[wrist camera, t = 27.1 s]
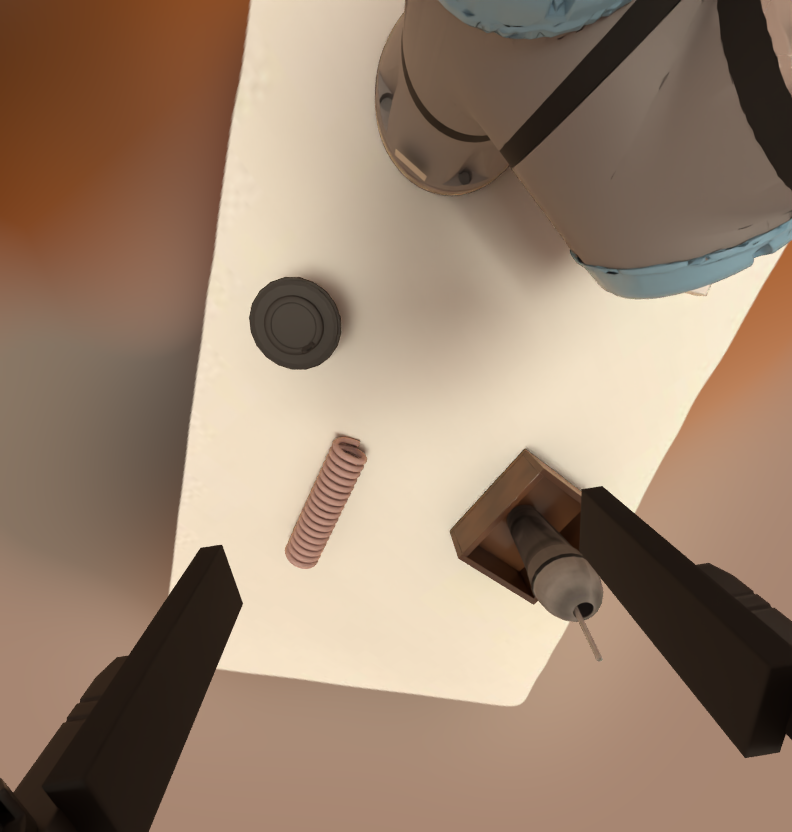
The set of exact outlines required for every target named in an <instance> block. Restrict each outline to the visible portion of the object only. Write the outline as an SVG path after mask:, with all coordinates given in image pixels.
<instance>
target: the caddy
mask: <svg viewBox="0 0 792 832" xmlns="http://www.w3.org/2000/svg"><path fill="white" fill-rule="evenodd" d="M581 493H582V491H580V490H579V489H578V488H576V487H575V486H574V485H572V484H571V483H570V482H568V481H567V480H566V479H564V478H563V477H562V476H560V475H559V474H558V473H556V472H555V471H554V470H552V469H551V468H550V467H548V466H547V465H546V464H545V463H543V462H542V461H541V460H539V459H538V458H537V457H535V456H534V455H533V454H531V453H530V452H529V451H527V450H526V449H524V450H523V452H522V453H521V454H520V455H519V456H518V457H517V458H516V459H515V460H514V461H513V462H512V464H511V465H510V466H509V467H508V468H507V469H506V470H505V471H504V472H503V473H502V474H501V476H500V477H499V478H498V479H497V480H496V481H495V482H494V483H493V484H492V485H491V487H490V488H489V489H488V490H487V491H486V492H485V493H484V494H483V495H482V496H481V497H480V499H479V500H478V501H477V502H476V503H475V504H474V505H473V506H472V507H471V508H470V509H469V511H468V512H467V513H466V514H465V515H464V516H463V517H462V518H461V519H460V520H459V521H458V523H457V524H456V525H455V526H454V527H453V528H452V529H451V530H450V534H451V537H452V540H453V543H454V546H455V549H456V552H457V556H458V558H459V559H460V560H462V561H463V562H465V563H467V564H468V565H470V566H472V567H473V568H475V569H476V570H478V571H480V572H481V573H483V574H485V575H486V576H488V577H489V578H491V579H493V580H494V581H496V582H498V583H499V584H501V585H502V586H504V587H506V588H507V589H509V590H511V591H512V592H514V593H515V594H517V595H519V596H520V597H522V598H524V599H525V600H527V601H528V602H530V603H532V604H533V605H534V604H535V603H536V602H537V601H538V599H537V598H536V597H535V596H534V595H533V592H532V589H531V584H530V581H529V577H528V573H527V570H526V568H525V566H524V563H523V561H522V559H521V556H520V554H519V552H518V549H517V547H516V545H515V542H514V540H513V538H512V535H511V533H510V530H509V527H508V525H507V517H508V514H509V513H510V512H511V510H513V509H514V508H515V507H517V506H520V505H530V506H532V507H534V508H535V509H536V510H537V511H538V512H539V513H541V514H542V516H543V517H544V518H545V519H546V520H547V521H548V522H549V523H550V524H551V525H552V526H553V527H554V528H555V529H556V530H557V531H558V532H559V533H560V534H561V535H562V536H563V537H564V538H565V539H566V540H567V542H568V543H569V544H570V545H571V546H572V547H573V548H575V549H577V550H578V551H579V545H580V519H581ZM579 552H580V551H579Z"/></svg>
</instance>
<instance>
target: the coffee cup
mask: <svg viewBox="0 0 792 832" xmlns="http://www.w3.org/2000/svg"><path fill="white" fill-rule="evenodd" d="M249 320H250V329H251V334H252V336H253V338H254V340H255V343H256V345H257V347H258V348H259V349H260V350H261V351H262V352H263V354H264V355H265V356H266V357H267V358H268V359H270V360H271V361H273V362H274V363H276V364H277V365H279V366H283V367H286V368H289V369H309V368H312V367H315V366H318V365H320V364H321V363H323V362H324V361H325V360H327V359H328V358H329V357H330V356H331V355H332V353H333V352H334V350H335V349H336V347H337V346H338V342H339V339H340V335H341V318H340V315H339V312H338V309H337V306H336V304H335V302H334V301H333V300H332V298H331V297H330V296H329V294H328V293H327V292H326V291H325V290H324V289H322V288H321V287H320V286H318V285H317V284H316V283H314V282H311V281H308V280H306V279H303V278H300V277H284V278H281V279H278V280H275V281H272V282H270V283H269V284H268V285H266V286H265V287H264V288H263V289H261V290H260V291H259V293H258V295H257V296H256V298H255V299H254V301H253V303H252V307H251V311H250V316H249Z"/></svg>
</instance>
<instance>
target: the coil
mask: <svg viewBox="0 0 792 832" xmlns="http://www.w3.org/2000/svg"><path fill="white" fill-rule="evenodd" d="M341 443H346V444H351V445H354V446H356V447H358V446H359V444H360V441H358V440H355V439H352V438H348V437H339V438H336V439H335V440H334V441H333V443H332V447H331V448H330V450H329V453H328V455H327V456H326V460H325V461H324V463H323V467H322V468H321V470H320V474H319V475H318V476H317V480H316V481H315V483H314V487H313V488H312V490H311V493H310V495H309V496H308V500H307V501H306V503H305V506H304V508H303V509H302V513H301V514H300V516H299V519H298V521H297V523H296V526H295V527H294V530H293V532H292V534H291V537H290V539H289V541H288V544H287V545H286V548H285V554H286V557H287V559H288V560H289V561H290V562H291V563H292V564H293V565H294V566H296V567H299V568H303V569H309V568H312V567H314V566H315V565H316V564H317V562H318V559H319V558H320V556H321V553H322V552H323V550H324V547H325V546H326V543H327V541H328V540H329V537H330V535H331V533H332V530H333V529H334V527H335V523H336V522H337V521H338V517H339V516H340V515H341V511H342V510H343V509H344V505H345V504H346V502H347V500H348V497H349V496H350V494H351V491H352V490H353V488H354V484H356V482H357V478H358V477H359V476H360V471H361V470H362V469H363V468H364V464H365V463H366V462H367V457H366V455H365V454H364V453H363V452H362V451H361V450H359V449H357V448H355V447H353V446H350V445H346V444H341ZM343 450H344V451H348V452H351V453H353V454H355V455H357V456H358V457H359V458H358V457H356V456H355V455H353V454H350V453H348V452H344V451H343ZM339 457H341V458H339ZM355 464H356V465H355ZM331 470H332V471H331ZM328 504H329V505H328ZM322 509H323V510H322ZM324 510H325V511H324ZM326 511H327V512H326ZM325 518H326V519H325Z"/></svg>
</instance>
